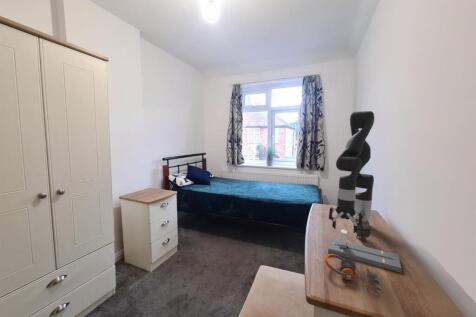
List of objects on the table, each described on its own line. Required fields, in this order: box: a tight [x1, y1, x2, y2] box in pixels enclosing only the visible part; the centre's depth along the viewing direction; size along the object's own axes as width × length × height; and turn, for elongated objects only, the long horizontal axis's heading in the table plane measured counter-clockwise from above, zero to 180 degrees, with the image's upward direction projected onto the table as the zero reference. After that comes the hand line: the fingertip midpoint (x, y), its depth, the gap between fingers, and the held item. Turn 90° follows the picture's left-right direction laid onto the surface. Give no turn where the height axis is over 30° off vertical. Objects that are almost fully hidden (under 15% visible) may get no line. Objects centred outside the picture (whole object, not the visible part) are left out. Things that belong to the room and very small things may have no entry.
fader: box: [339, 229, 348, 248], centre depth 101 cm, size 5×3×7 cm, turn 148°
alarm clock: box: [355, 210, 371, 243], centre depth 114 cm, size 11×5×16 cm, turn 168°
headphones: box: [324, 253, 382, 297], centre depth 82 cm, size 17×5×20 cm
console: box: [327, 238, 402, 273], centre depth 97 cm, size 12×28×2 cm, turn 58°
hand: (344, 230), depth 101 cm, fingers open, 8 cm apart
